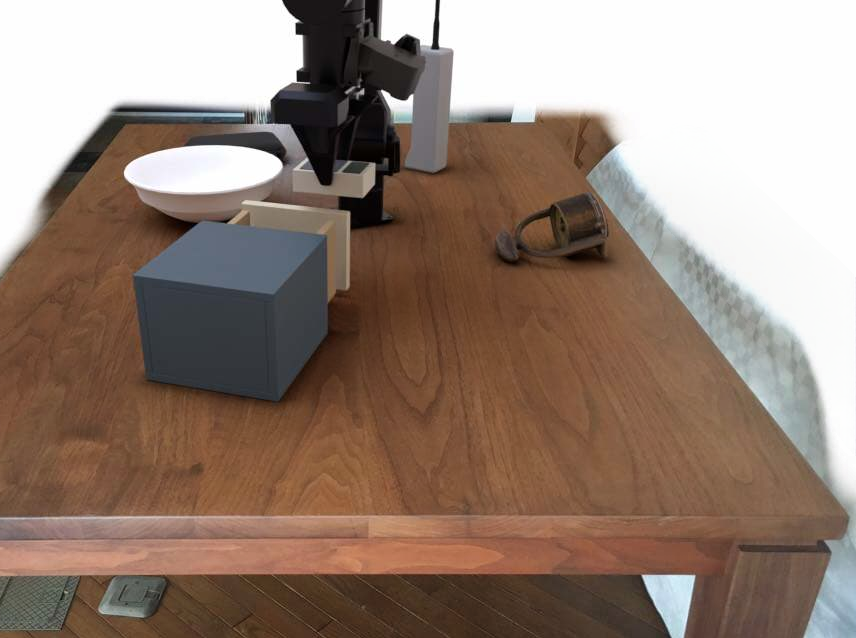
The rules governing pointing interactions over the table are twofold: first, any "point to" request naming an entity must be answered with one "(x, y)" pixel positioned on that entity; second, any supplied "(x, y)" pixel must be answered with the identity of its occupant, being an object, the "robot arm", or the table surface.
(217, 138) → the carrying case
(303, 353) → the cabinet
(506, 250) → the brass cylinder with loop
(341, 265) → the drawer
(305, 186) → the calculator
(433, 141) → the vintage mobile phone
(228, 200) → the bowl
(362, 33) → the robot arm
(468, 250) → the table surface
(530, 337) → the table surface
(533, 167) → the table surface
